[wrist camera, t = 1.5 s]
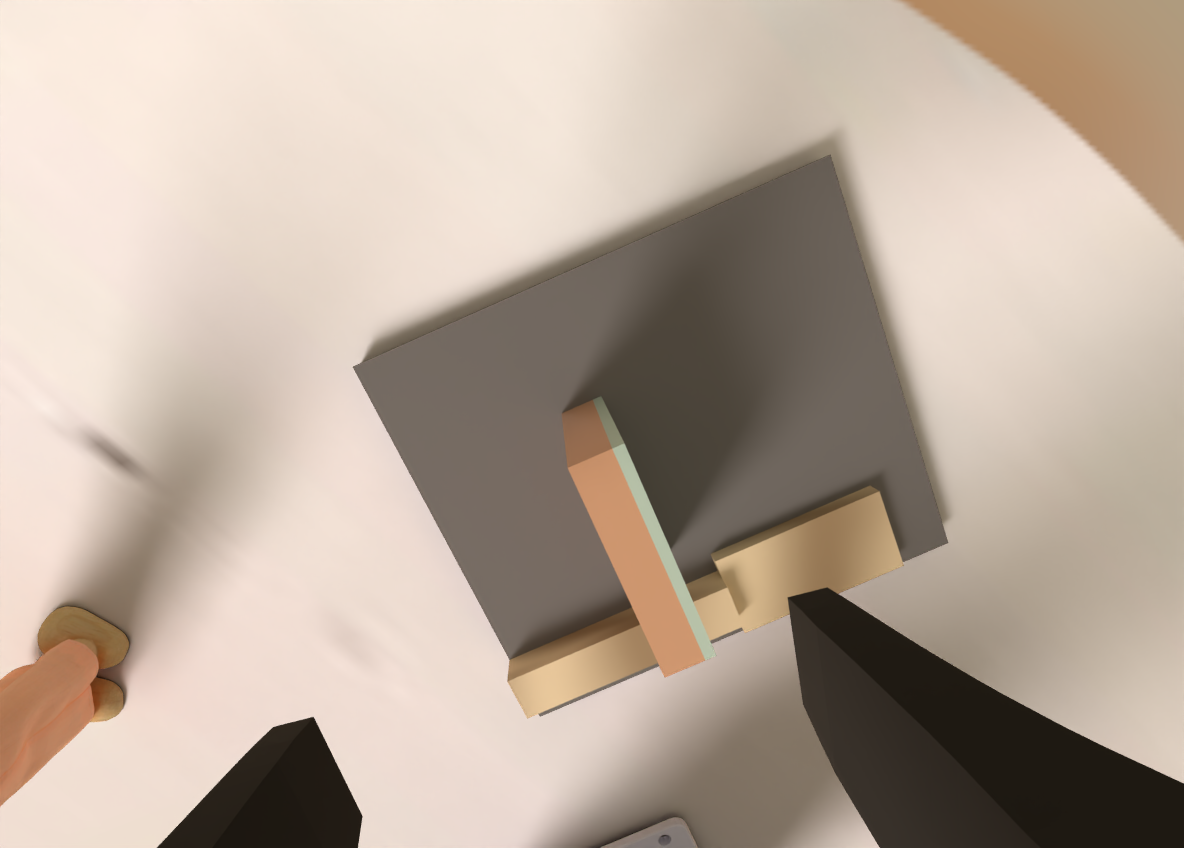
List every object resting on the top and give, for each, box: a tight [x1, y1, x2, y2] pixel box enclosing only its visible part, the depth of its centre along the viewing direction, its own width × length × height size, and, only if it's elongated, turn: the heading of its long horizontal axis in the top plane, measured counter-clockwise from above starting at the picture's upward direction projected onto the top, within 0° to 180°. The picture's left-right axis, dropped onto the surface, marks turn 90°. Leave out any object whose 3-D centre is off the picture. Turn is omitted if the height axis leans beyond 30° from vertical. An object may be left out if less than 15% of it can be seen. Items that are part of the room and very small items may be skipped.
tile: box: [562, 396, 716, 677], centre depth 17 cm, size 1×6×6 cm, turn 23°
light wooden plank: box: [507, 486, 904, 718], centre depth 21 cm, size 14×3×1 cm, turn 113°
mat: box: [353, 155, 948, 716], centre depth 20 cm, size 16×14×1 cm
